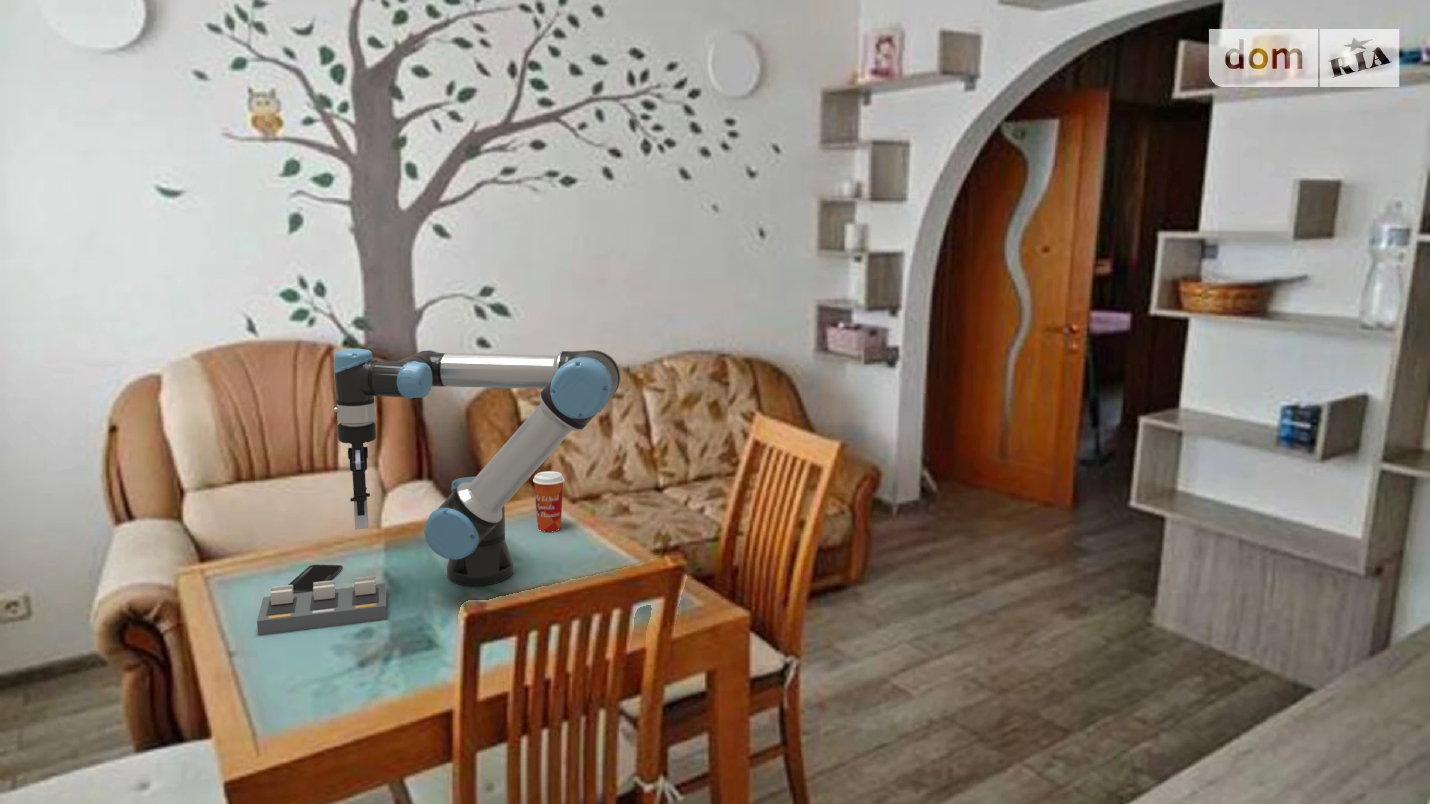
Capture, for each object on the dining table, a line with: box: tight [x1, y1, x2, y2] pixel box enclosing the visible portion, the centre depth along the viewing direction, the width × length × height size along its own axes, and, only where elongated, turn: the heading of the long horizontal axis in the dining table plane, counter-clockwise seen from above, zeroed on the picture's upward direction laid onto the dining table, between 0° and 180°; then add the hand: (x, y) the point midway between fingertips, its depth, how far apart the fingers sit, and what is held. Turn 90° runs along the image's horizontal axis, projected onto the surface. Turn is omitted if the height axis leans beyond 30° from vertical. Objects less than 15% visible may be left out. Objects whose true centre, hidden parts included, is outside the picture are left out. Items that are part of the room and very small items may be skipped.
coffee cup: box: [532, 470, 566, 533], centre depth 242 cm, size 8×8×15 cm
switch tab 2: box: [313, 579, 336, 600], centre depth 190 cm, size 4×3×3 cm
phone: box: [288, 564, 344, 594], centre depth 206 cm, size 8×1×15 cm
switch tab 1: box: [269, 584, 294, 605], centre depth 187 cm, size 4×3×3 cm
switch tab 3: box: [354, 575, 376, 596], centre depth 193 cm, size 4×3×3 cm
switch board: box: [256, 583, 388, 636], centre depth 189 cm, size 24×12×3 cm, turn 111°
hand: (361, 527), depth 197 cm, fingers closed
